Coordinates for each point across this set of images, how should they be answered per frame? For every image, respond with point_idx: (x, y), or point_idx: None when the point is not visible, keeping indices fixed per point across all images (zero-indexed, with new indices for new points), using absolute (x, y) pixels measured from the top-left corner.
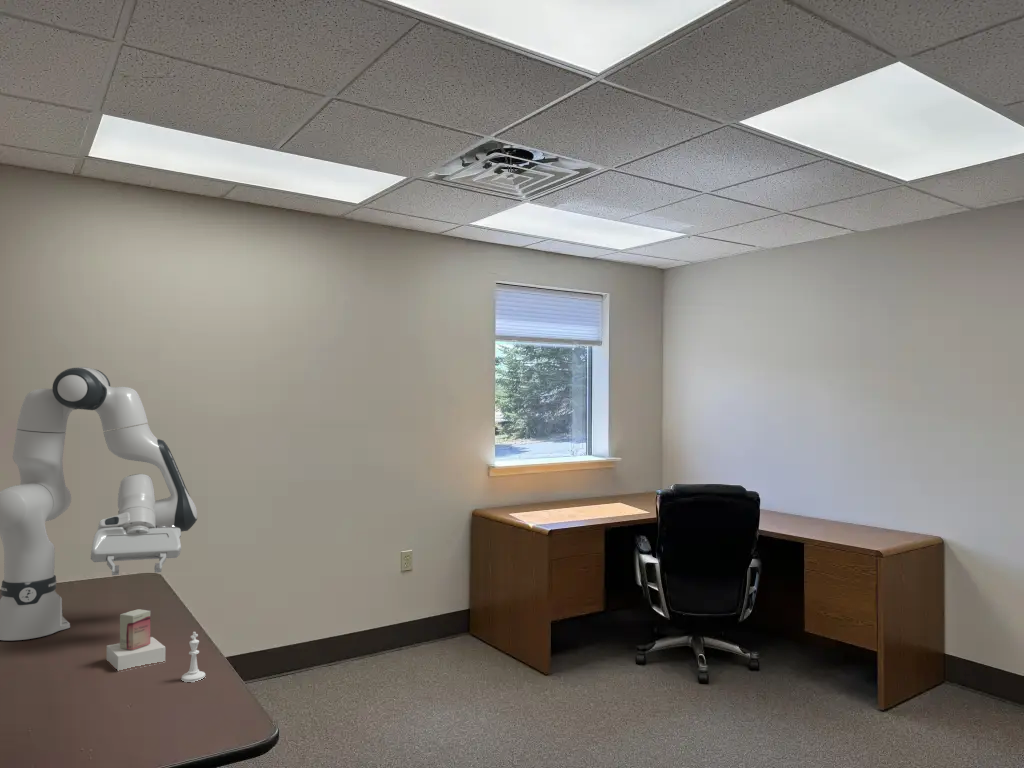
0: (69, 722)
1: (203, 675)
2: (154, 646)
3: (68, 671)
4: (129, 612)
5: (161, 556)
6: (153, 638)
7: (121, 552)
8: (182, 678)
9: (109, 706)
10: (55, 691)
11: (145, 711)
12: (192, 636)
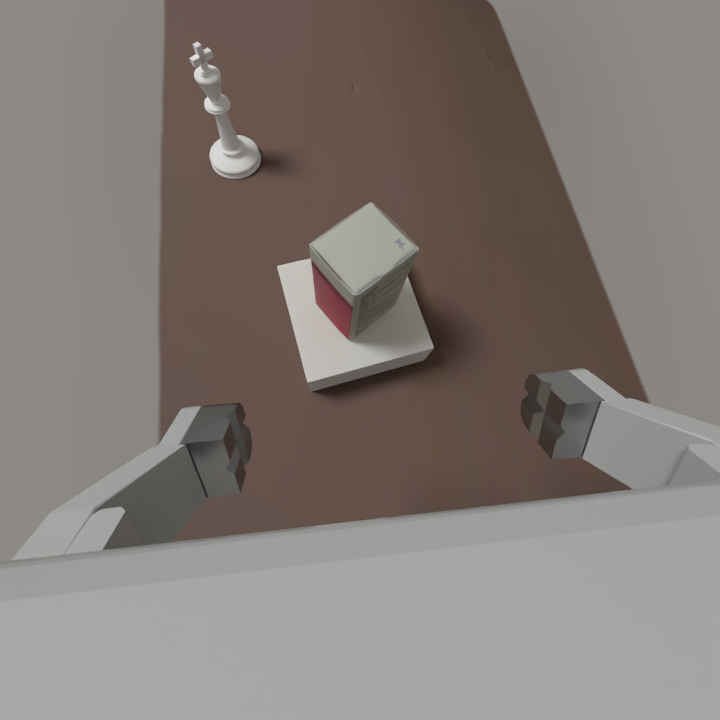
0: (440, 66)
1: (215, 142)
2: (305, 284)
3: (498, 313)
4: (386, 250)
5: (110, 509)
6: (305, 364)
7: (684, 490)
8: (257, 148)
9: (387, 98)
10: (494, 201)
11: (329, 58)
12: (206, 48)
